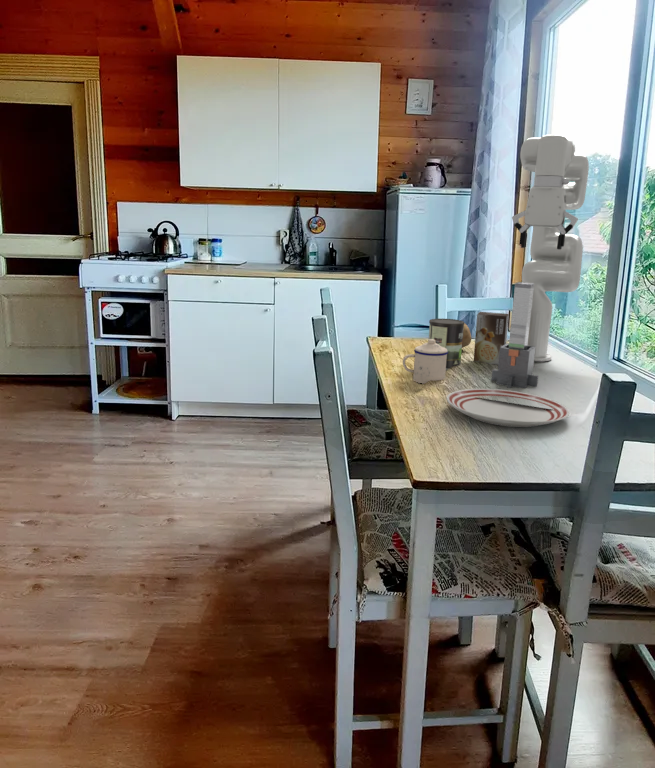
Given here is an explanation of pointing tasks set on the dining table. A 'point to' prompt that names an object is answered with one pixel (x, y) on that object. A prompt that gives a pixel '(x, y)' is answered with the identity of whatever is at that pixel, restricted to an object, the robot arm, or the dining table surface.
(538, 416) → the dinner plate
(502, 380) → the stand base
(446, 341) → the coffee can
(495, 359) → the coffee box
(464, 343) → the natural sponge
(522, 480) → the dining table surface
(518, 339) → the column
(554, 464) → the dining table surface
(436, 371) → the teacup with lid
